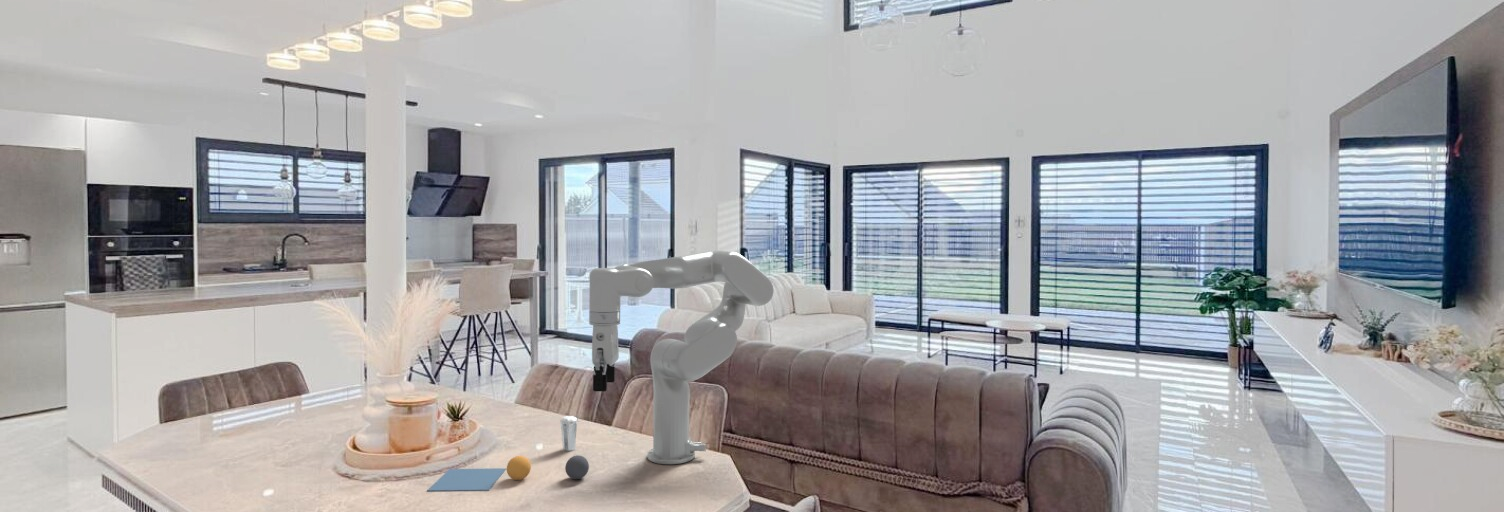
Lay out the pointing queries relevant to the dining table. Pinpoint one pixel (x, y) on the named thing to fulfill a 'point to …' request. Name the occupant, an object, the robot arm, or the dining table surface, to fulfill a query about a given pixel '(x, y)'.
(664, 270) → the robot arm
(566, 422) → the milkshake
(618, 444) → the dining table surface
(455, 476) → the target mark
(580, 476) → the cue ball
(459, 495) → the dining table surface
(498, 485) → the dining table surface
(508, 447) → the dining table surface
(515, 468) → the object ball
